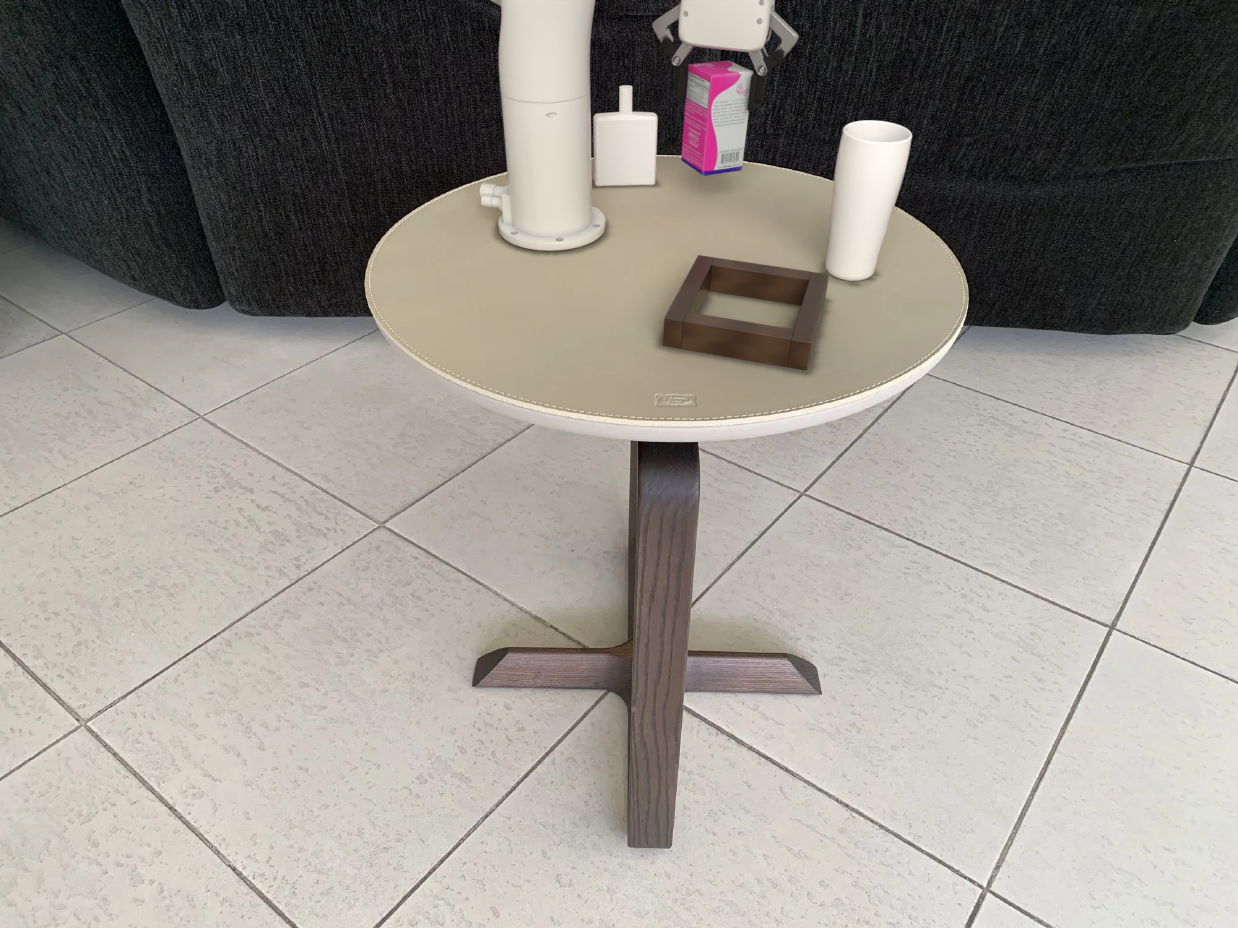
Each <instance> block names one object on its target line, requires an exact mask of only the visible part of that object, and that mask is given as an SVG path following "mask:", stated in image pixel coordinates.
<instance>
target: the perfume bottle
mask: <svg viewBox="0 0 1238 928" xmlns="http://www.w3.org/2000/svg"><path fill="white" fill-rule="evenodd" d="M618 91H619V93H618V94H619V97H618V99H619V100H618V101H619V102H618V103H619V105H618V107H619V108H618V111H613V112H600V113H597V112H596V113H595V114H594V116H593V119H592V120H593V121H592V122H593V182H594V185H595V187H631V186H632V187H633V186H654V185H655V184H656V181H657V180H656V178H657V154H658V153H657V152H658V122H659V118H658V115H657V113H656V112H650V111H633V85H628V84H627V85H625V84H623V85H620V86H619V89H618Z"/></svg>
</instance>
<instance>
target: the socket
mask: <svg viewBox="0 0 1238 928" xmlns="http://www.w3.org/2000/svg"><path fill="white" fill-rule="evenodd" d="M829 280H830V273H824V272H816V271H809V270H803V269H797V268H790V267H783V266H775V265H771V264H763V263H762V264H761V263H755V262H749V261H741V260H734V259H729V258H721V257H715V256H707V255H701V254H698V255H697V257H696V258H695V260H694V262H693V264H692V266H691V268H690V269H689V271H688V273H687V275H686V277H685V279H684V281H683V282H682V285H681V286H680V288H679V290H678V292H677V294H676V296H675V297H674V299H673V301H672V303H671V305H670V306H669V308H668V310H667V312H666V314H665V316H664V318H663V334H662V335H663V336H662V337H663V338H662V346H663V347H669V348H675V349H680V350H687V351H693V352H698V353H703V354H710V355H715V356H722V357H727V358H732V359H739V360H744V361H750V362H755V363H762V364H768V365H774V366H778V367H785V368H791V369H797V370H804V371H807V370H808V368H809V367H808V366H809V363H810V359H811V355H812V351H813V347H814V344H815V339H816V336H817V331H818V328H819V325H820V320H821V317H822V312H823V309H824V305H825V300H826V296H827V290H828V285H829ZM709 292H713V293H720V294H728V295H735V296H741V297H745V298H746V297H747V298H752V299H757V300H758V299H760V300H766V301H772V302H777V303H778V302H779V303H785V304H792V305H797V306H800V309H799V313H798V317H797V319H796V323H795V326H794V328H789V327H783V326H776V325H769V324H764V323H757V322H753V321H752V322H751V321H747V320H746V321H745V320H739V319H734V318H727V317H720V316H714V315H709V314H703V313H700V311H701V308H702V307H703V304H704V302H705V300H706V298H707V296H708V294H709Z"/></svg>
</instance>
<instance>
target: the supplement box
mask: <svg viewBox="0 0 1238 928" xmlns="http://www.w3.org/2000/svg"><path fill="white" fill-rule="evenodd" d="M754 72H755V71H753V70H752V69H749V68H747V67H744V66H741V65H739V64H737V63H735V62H734V61H732V60H729V59H728V60H719V61H709V62H699V63H691V64H689V65H688V77H687V90H686V99H685V102H684V103H685V105H684V106H685V107H684V118H683V132H682V143H681V155H680V161H681V162H683V163H684V164H685V165H687V166H689V168H691V169H693V170H694V171H695V172H697V173H698V174H700V175H701V177H707V176H714V175H718V174H719V175H720V174H727V173H734V172H741V171H743V164H744V155H745V148H746V139H747V130H748V122H749V114H750V112H749V110H747V107H748V99H749V91H750V83H751V76H752V75H753V73H754Z"/></svg>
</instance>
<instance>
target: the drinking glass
mask: <svg viewBox="0 0 1238 928" xmlns="http://www.w3.org/2000/svg"><path fill="white" fill-rule="evenodd" d="M912 140H913V133H912V132H911V130H910V129H909V128H907V127H906V126H903V125H900V124H898V123H896V122H895V123H894V122H890V121H885V120H873V119H872V120H869V119H868V120H867V119H866V120H865V119H864V120H857V121H852V122H849V123H847V124H845V125H844V126H843V128H842V132H841V136H840V140H839V145H838V150H837V155H836V159H835V167H834V177H833V187H832V198H831V210H830V220H829V221H830V222H829V229H828V230H829V232H828V241H827V249H826V250H827V251H826V254H825V256H826V257H825V261H824V262H825V263H824V266H825V270H826V271H827V273H828V274H829V275H831V276H832V277H835V278H837V279H838V280H843V281H847V282H861V281H865V280H868V279H869V278H871V277H872V276H873V275H874V273H876V268H877V265H878V261H879V256H880V253H881V249H882V246H883V242H884V239H885V238H886V233H887V230H888V227H889V224H890V221H891V218H892V215H893V211H894V209H895V207H896V203H897V199H898V196H899V194H900V190H901V186H902V184H903V180H904V177H905V173H906V169H907V165H908V161H909V156H910V152H911V145H912Z"/></svg>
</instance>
